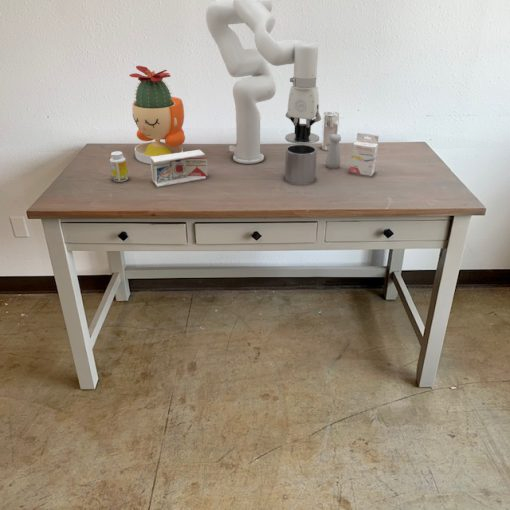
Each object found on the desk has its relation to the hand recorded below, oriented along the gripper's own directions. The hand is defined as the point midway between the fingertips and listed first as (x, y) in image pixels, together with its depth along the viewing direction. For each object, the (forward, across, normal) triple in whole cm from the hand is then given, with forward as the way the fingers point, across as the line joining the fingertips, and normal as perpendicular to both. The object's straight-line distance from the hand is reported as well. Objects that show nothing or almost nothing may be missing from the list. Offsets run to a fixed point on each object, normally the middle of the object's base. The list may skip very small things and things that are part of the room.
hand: (302, 136), depth 170 cm
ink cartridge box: (+16, +19, +16) cm, 30 cm away
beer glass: (+16, -2, +38) cm, 41 cm away
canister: (+16, 0, 0) cm, 16 cm away
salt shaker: (+16, +7, +17) cm, 25 cm away
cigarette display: (+16, -39, -20) cm, 47 cm away
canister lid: (+1, 0, 0) cm, 1 cm away
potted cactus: (+16, -61, -1) cm, 63 cm away
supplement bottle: (+16, -59, -30) cm, 68 cm away
